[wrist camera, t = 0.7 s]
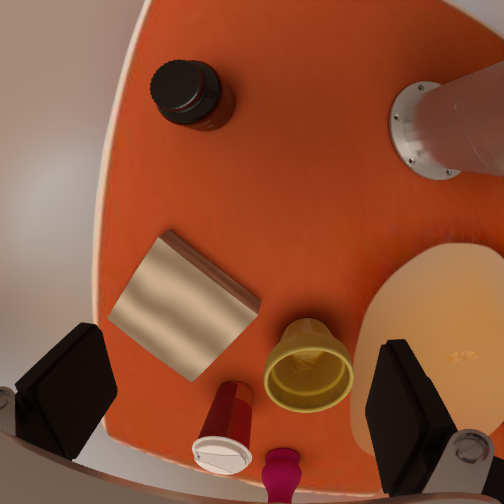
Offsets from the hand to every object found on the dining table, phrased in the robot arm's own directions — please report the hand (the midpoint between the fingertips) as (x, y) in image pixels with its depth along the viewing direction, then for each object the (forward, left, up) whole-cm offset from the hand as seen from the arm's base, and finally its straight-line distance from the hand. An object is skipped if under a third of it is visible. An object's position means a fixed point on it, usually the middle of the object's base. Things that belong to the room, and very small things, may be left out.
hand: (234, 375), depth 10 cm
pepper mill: (+33, +31, -30) cm, 54 cm away
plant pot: (+10, +15, -30) cm, 35 cm away
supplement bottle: (-6, -14, -30) cm, 34 cm away
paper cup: (+25, +14, -30) cm, 42 cm away
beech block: (+17, -1, -30) cm, 35 cm away
